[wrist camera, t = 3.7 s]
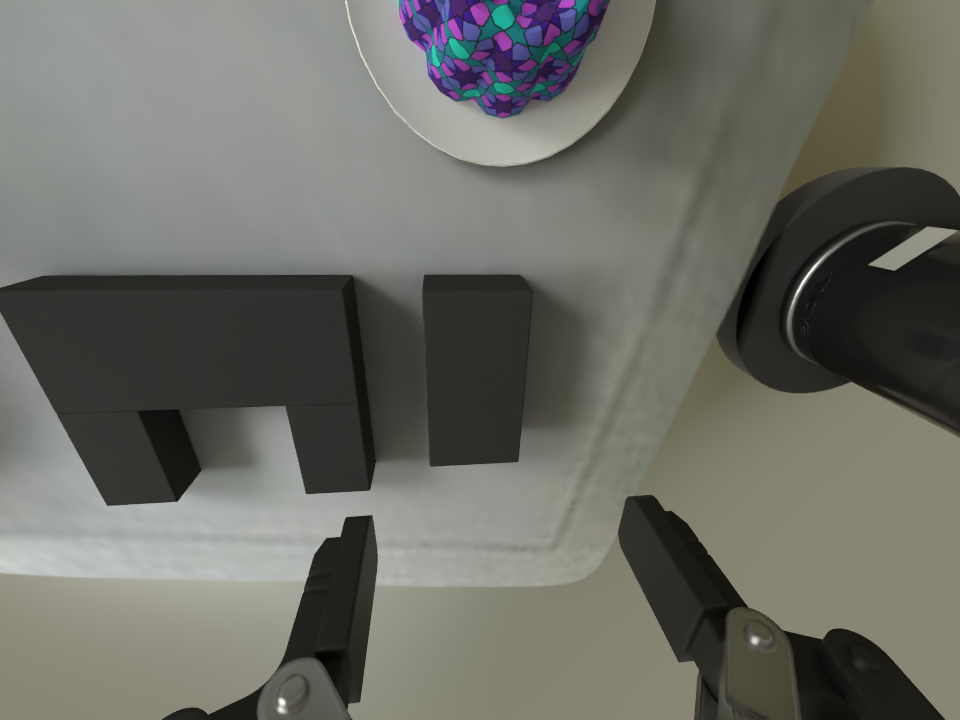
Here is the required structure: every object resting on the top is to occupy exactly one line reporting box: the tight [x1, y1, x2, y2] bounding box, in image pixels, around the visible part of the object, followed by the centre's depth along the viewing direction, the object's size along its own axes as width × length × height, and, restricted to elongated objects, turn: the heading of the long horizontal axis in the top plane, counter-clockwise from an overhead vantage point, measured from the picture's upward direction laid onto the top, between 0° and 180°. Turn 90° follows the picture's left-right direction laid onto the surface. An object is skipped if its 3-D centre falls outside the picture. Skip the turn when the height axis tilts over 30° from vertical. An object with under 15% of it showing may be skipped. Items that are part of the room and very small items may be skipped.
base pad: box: [0, 275, 376, 506], centre depth 20 cm, size 14×12×2 cm
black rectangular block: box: [422, 275, 533, 466], centre depth 21 cm, size 5×10×3 cm, turn 179°
